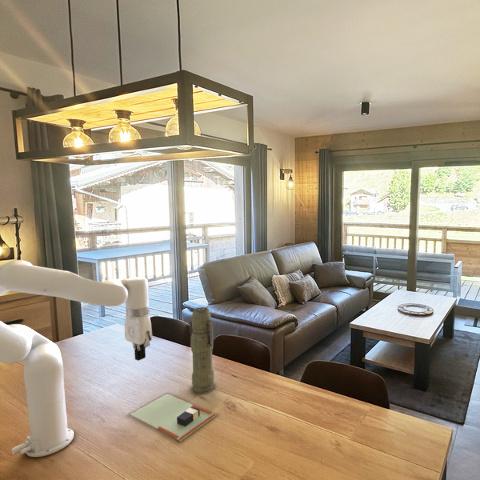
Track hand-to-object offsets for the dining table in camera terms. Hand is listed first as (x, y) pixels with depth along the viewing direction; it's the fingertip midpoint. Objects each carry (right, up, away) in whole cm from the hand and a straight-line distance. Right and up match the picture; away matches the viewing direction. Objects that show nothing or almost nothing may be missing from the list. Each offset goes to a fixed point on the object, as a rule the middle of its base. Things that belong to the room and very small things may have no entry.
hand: (140, 358), depth 129 cm
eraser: (+19, -21, -3) cm, 29 cm away
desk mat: (+12, -21, 0) cm, 25 cm away
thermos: (+17, -19, +19) cm, 32 cm away
